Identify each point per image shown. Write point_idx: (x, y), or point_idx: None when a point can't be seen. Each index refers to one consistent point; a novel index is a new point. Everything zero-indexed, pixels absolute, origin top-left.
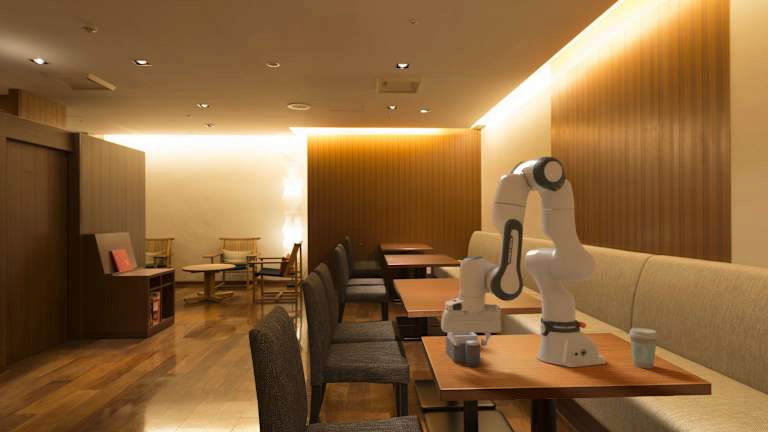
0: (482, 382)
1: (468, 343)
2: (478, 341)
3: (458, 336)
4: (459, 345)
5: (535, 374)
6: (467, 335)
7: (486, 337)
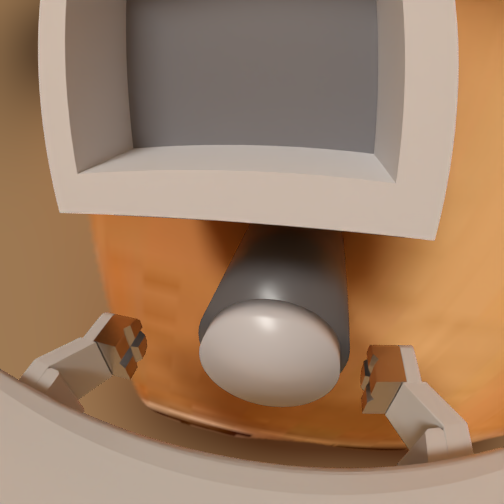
0: (255, 412)
1: (215, 379)
2: (339, 368)
3: (111, 212)
4: (145, 347)
5: (480, 387)
6: (260, 186)
7: (407, 431)
